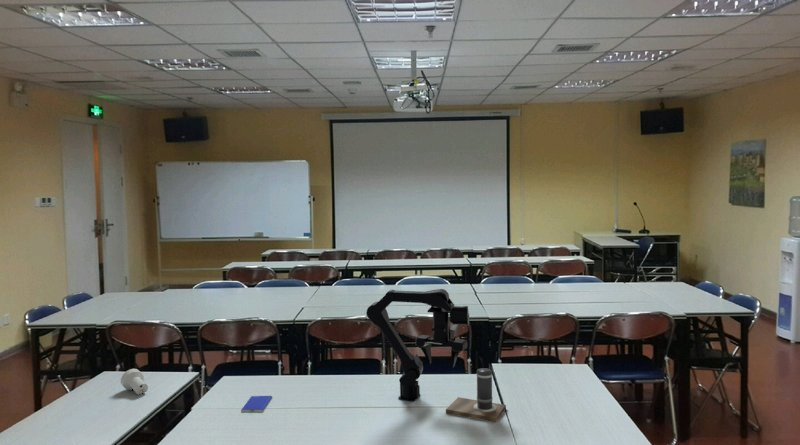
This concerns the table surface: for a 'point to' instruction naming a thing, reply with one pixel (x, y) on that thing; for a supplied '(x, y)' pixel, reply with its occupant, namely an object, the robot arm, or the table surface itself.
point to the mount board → (475, 410)
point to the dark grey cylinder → (484, 388)
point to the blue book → (256, 404)
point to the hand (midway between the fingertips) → (441, 365)
